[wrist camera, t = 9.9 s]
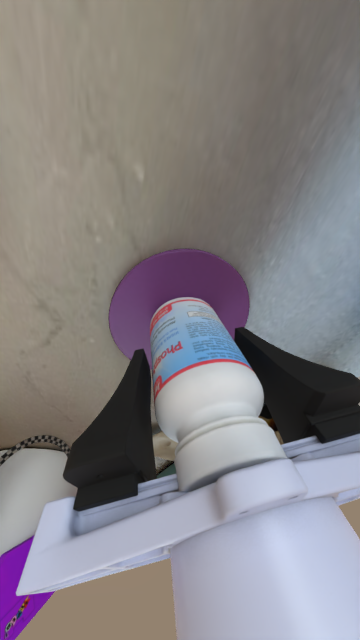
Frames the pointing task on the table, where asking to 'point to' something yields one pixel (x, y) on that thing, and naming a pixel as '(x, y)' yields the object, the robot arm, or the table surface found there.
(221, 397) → the pill bottle
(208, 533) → the robot arm
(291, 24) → the table surface
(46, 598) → the toy
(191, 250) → the lid
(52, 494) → the tape roll
